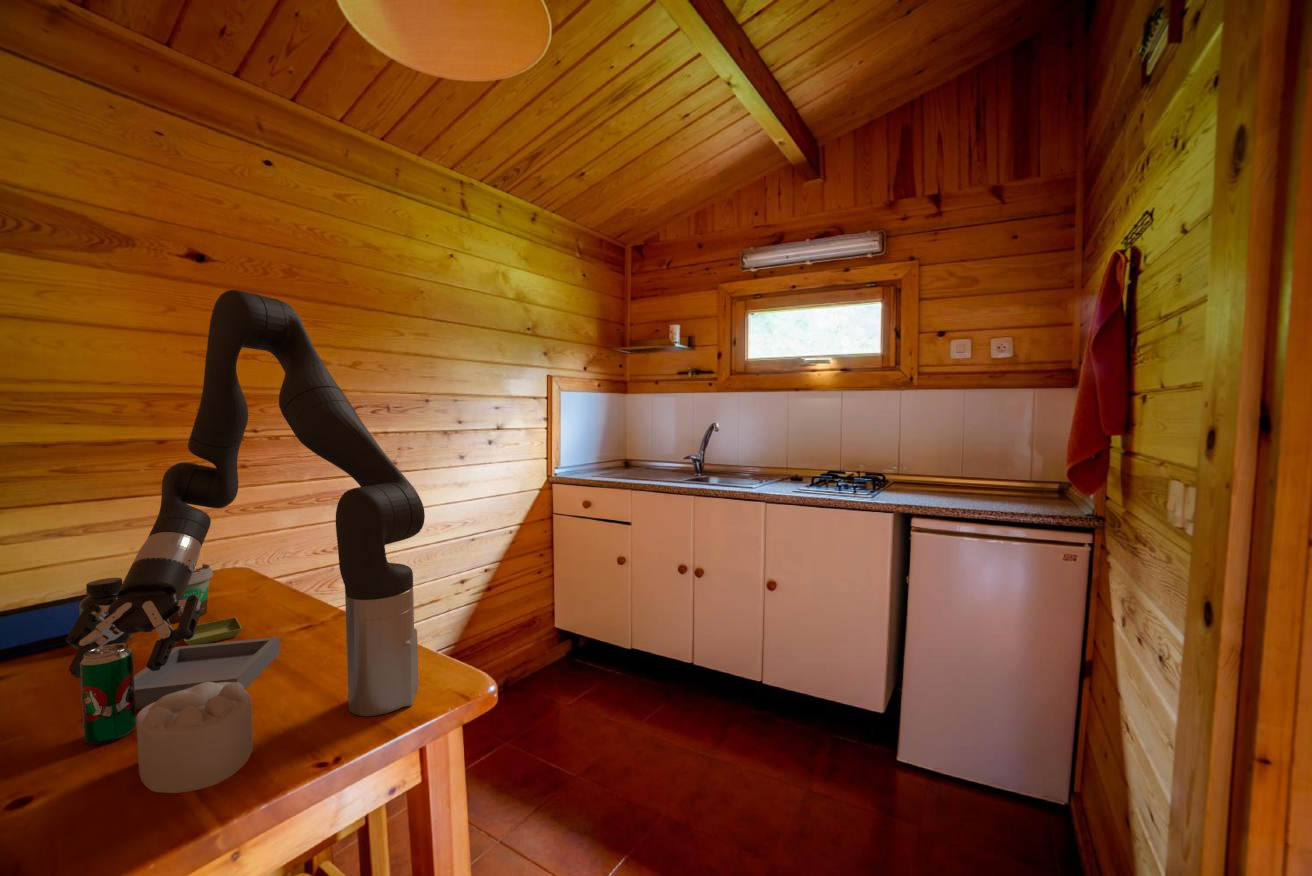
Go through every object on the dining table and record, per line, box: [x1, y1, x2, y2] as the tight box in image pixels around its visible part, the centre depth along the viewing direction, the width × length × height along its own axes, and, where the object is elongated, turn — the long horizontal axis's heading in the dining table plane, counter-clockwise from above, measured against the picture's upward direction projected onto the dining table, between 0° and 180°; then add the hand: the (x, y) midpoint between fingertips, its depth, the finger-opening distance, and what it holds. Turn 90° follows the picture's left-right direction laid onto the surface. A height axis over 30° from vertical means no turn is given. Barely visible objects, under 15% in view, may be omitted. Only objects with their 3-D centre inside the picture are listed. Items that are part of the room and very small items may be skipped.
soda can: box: [80, 642, 137, 745], centre depth 74 cm, size 5×5×12 cm
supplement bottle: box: [78, 577, 133, 646], centre depth 104 cm, size 7×7×12 cm
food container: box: [168, 563, 214, 625], centre depth 116 cm, size 12×6×10 cm, turn 168°
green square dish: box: [183, 616, 243, 646], centre depth 107 cm, size 9×9×2 cm
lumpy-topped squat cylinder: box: [136, 682, 254, 794], centre depth 68 cm, size 10×13×9 cm
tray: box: [134, 636, 281, 710], centre depth 89 cm, size 16×16×3 cm
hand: (115, 672), depth 75 cm, fingers open, 8 cm apart
